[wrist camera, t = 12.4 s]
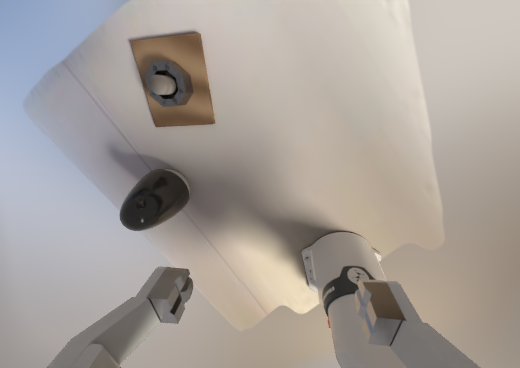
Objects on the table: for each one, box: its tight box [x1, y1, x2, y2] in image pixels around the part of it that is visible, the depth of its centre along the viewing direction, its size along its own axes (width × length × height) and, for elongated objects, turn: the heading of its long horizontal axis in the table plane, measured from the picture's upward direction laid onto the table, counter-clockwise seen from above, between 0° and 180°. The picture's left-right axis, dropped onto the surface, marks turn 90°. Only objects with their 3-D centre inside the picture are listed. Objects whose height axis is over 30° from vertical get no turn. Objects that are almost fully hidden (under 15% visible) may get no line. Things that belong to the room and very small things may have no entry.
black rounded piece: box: [120, 169, 190, 231], centre depth 38 cm, size 10×10×15 cm
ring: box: [144, 61, 194, 107], centre depth 33 cm, size 7×7×3 cm
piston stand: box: [130, 33, 215, 127], centre depth 32 cm, size 14×12×6 cm
